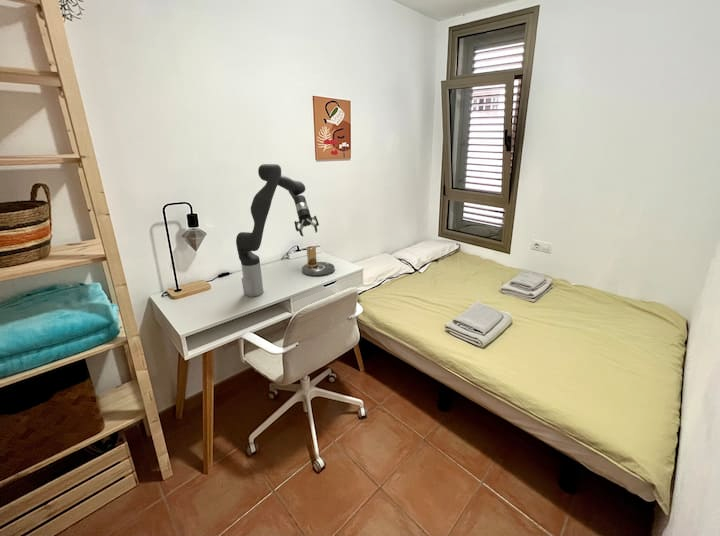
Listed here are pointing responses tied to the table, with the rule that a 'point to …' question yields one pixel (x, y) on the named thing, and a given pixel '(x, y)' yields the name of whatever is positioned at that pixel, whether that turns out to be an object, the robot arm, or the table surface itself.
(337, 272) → the table surface
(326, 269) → the platter
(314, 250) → the brown jar
